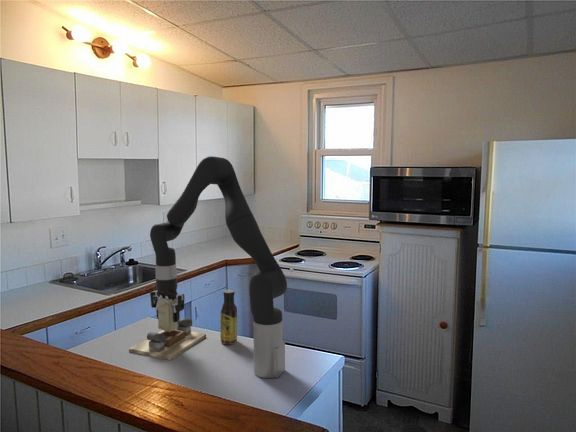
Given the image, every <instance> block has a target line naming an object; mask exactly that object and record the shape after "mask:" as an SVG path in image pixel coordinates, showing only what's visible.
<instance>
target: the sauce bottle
mask: <svg viewBox="0 0 576 432" xmlns="http://www.w3.org/2000/svg"><path fill="white" fill-rule="evenodd" d="M222 295H223V304H222V307H221V310H220V319H219V321H220V323H219V324H220V328H219V329H220V337H219V338H220V342H221V344H224V345H228V346H229V345H234V344H236V343H237V341H238V308H237V306H236V304H235V290H234V289H225V290H223V294H222Z"/></svg>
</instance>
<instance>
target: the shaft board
mask: <svg viewBox="0 0 576 432" xmlns="http://www.w3.org/2000/svg"><path fill="white" fill-rule="evenodd" d="M192 325H193V320H192V319H190V318H189V319H188V318H184V317H183V318H182V317H180V319H179V321H178V329H176V330H173V331H170V332H167V331H164V330H161V331H159V332H152V331H149V332H148V333H147V335H146V338H145V339H143V340H142V341H140V342H138V343H136V344H134V345H133V346H131V347H129V348H128V353H132V354H139V355H143V356H148V357H154V358H157V359H163V360H168V361H171V360H172V359H174V358H176V357H177V356H178V355H180V354H182V353H183V352H185V351H187V350H188V349H189V348H191V347H193V346H194V345H195V343H196V344H198V343H199V342H200V341H202V340H203V338H204V337H205V338H207V334H206V333H203V332H202V333H201V332H196V331H192ZM205 338H204V339H205ZM201 339H202V340H201ZM198 341H199V342H198ZM192 345H193V346H192Z"/></svg>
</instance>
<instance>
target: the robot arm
mask: <svg viewBox="0 0 576 432" xmlns="http://www.w3.org/2000/svg"><path fill="white" fill-rule="evenodd" d="M211 185H217V187H218V188H219V190H220V192H221V194H222V197H223V199H224V205H225V209H224V219H225V224H226V226H227V227H226V228H228V231H229V233H230V236H231V237H232V239H233V241H234V243H235V244H236V245H238V247H240V248H241V249H242V250H243V251H244V252H246V254H247V255H249V257H250V258H252V260H253V261H254V262H255V264H256V266H257V268H258V270H259V272H256V273H254V274H253V275H252V276H251V277H250V280H249V285H248V287H249V288H248V289H249V302H250V303H249V304H250V312H251V314H252V317H253V320H252V321H253V322H252V323H253V325H252V327H253V330H252V331H253V369H254V370H253V373H254V375H256V376H257V377H260V378H263V379H264V378H265V379H272V378H277V379H278V378H279V377H280V376H281V375H282V374H283V373H284V372H285V371H286V343H285V341H283V312H282V310H281V309H279V308H278V307H274V306H275V305H274V299H276V298H279V297H282V296H283V295H284V294H285V293H286V292H287V288H288V281H287V278H286V275H285V274H284V272H283V270H282V268H281V266H280V265H279V262H278V261H277V260H276V258H275V256H274V254H273V253H272V251H271V249H270V247H269V246H268V244H267V241H266V240H265V237H264V235H263V233H262V232H261V229H260V227H259V225H258V222H257V221H256V218H255V217H254V214H253V212H252V210H251V208H250V206H249V204H248V202H247V199H246V197H245V195H244V193H243V191H242V189H241V186H240V183H239V180H238V177H237V174H236V171H235V168H234V166H233V165H232V163H231V161H229V160H228V159H227V158H225V157H218V156H214V155H213V156H212V155H211V156H210V155H209V156H206V157H203V158H202V159H201V160H200V162H199V163H198V165H197V166H196V168H195V170H194V172H193V173H192V176H191V177H190V179H189V181H188V182H187V184H186V186H185V188H184V190H183V192H182V193H181V194H180V196H179V198H178V199H177V200H176V201H175V203H174V204H173V205H172V206H171V208H170V209H169V210H168V212H167V214H166V219H167V221H165V222H164V221H163V222H158V223H155V224H153V225H152V227H151V228H150V232H149V237H150V241H151V244H152V247H153V251H154V254H155V286H156V287H155V288H156V290H153V291H150V292H149V295H150V296H149V297H150V305H151V308H152V309H153V308H154V309H155V310H156V318H157V319H158V305H159V304H160V301H159V299H161V298H166V299H172V300H174V299H175V298H177V303H175V304H173V303H172V302H171V307H172V309H173V311H174V313H173V318H174V322H177V321H179V319H180V318H181V316H180V314H181V313H180V312H181V311H183V310H184V309H185V294H184V293H182V294H179V293H178V292H177V291H178V290H177V289H178V272H177V271H178V268H177V260H176V256H177V255H176V250H175V249H174V248H173V247H169V245H168V242H170V241H173V240H176V239H177V237H178V236H179V235H180V234H181V232H182V231H183V228H184V225H185V224H186V223H187V221H188V220H189V219H190V218H191V217H192V215H193V214H194V213H195V211H196V209H197V206H198V202H199V198H200V195H201V194H202V193H203V192H204V190H206V189H207V187H209V186H211ZM158 297H159V299H158ZM175 305H176V308H175Z"/></svg>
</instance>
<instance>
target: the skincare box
mask: <svg viewBox="0 0 576 432" xmlns="http://www.w3.org/2000/svg"><path fill="white" fill-rule="evenodd" d="M157 297H158V296H157ZM158 299H159V297H158ZM159 301H160V304H159V305H158V318H157V321H158V322H157V325H158V326H157V328H158V330H161V331H162V330H164V331H167V332H170V331H173V330H176V329H178V321H177V322H174V318H173V313H174V311H173V309H172V307H171V302H172V303H173V304H175V303H177V301H178V300H177V298H175V299H174V300H172V299H166V298H161V299H159ZM175 308H176V305H175Z"/></svg>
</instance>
